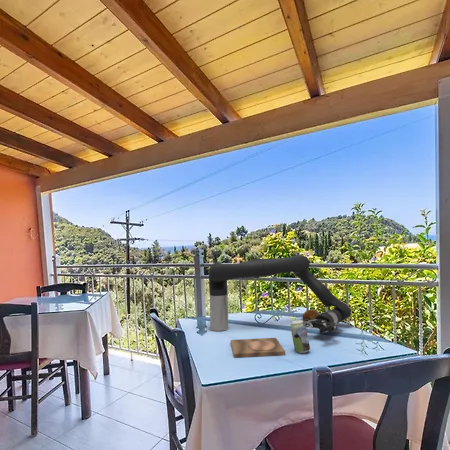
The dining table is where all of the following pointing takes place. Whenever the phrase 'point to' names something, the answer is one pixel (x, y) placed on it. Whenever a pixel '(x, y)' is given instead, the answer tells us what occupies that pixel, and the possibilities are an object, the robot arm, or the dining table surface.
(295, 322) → the beverage can
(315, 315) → the bread roll
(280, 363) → the dining table surface
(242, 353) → the serving board
